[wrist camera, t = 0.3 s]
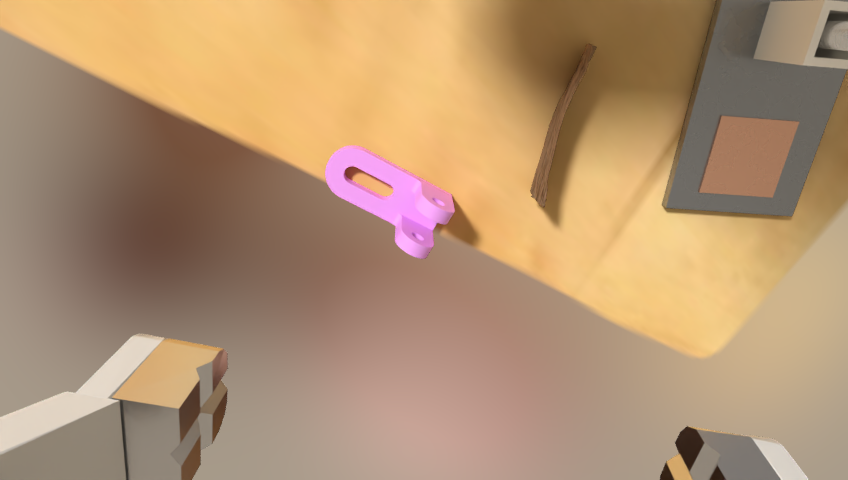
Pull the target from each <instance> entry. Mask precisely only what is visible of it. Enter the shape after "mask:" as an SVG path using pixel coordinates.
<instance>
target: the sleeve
mask: <svg viewBox="0 0 848 480" xmlns="http://www.w3.org/2000/svg"><path fill="white" fill-rule="evenodd" d="M826 21H848V2H844V1H833V0H805V1H774V2H770V5H769V8H768V12H767V15H766V18H765V21H764V25H763V28H762V31H761V34H760V38H759V41H758V44H757V48H756V51H755V54H754V57H753V59H759V60H766V61H774V62H781V63H789V64H796V65H804V66H817V67H829V68H842V69H848V51H843V50H832V49H820V48H817V47H818V44H819V41H820V38H821V35H822V32H823V29H824V27H825V24H826Z"/></svg>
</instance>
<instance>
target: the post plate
mask: <svg viewBox="0 0 848 480" xmlns="http://www.w3.org/2000/svg"><path fill="white" fill-rule="evenodd" d="M774 1H805V0H717V1H716V5H715V8H714V12H713V16H712V20H711V23H710V27H709V31H708V34H707V38H706V42H705V46H704V49H703V53H702V57H701V61H700V64H699V68H698V72H697V76H696V79H695V83H694V87H693V90H692V94H691V98H690V102H689V105H688V109H687V113H686V117H685V120H684V124H683V128H682V131H681V135H680V139H679V143H678V146H677V150H676V154H675V158H674V161H673V165H672V169H671V173H670V176H669V180H668V184H667V187H666V191H665V195H664V199H663V202H662V205H663V206H664V207H665V208H675V209H690V210H705V211H720V212H735V213H750V214H765V215H780V216H792V215H793V213H794V210H795V207H796V205H797V202H798V199H799V197H800V194H801V191H802V189H803V186H804V183H805V181H806V178H807V175H808V173H809V170H810V167H811V165H812V162H813V159H814V156H815V154H816V151H817V148H818V146H819V143H820V140H821V138H822V135H823V132H824V130H825V127H826V124H827V122H828V119H829V116H830V114H831V111H832V108H833V106H834V103H835V100H836V98H837V95H838V92H839V90H840V87H841V84H842V82H843V79H844V76H845V74H846V71H847V69H842V68H829V67H817V66H804V65H796V64H789V63H781V62H774V61H766V60H759V59H753V57H754V54H755V51H756V48H757V44H758V41H759V38H760V34H761V31H762V28H763V25H764V21H765V18H766V15H767V12H768V8H769V5H770V2H774ZM833 1H844V2H848V0H833ZM817 48H820V49H832V50H843V51H848V21H826V24H825V27H824V29H823V32H822V35H821V38H820V41H819V44H818V47H817Z"/></svg>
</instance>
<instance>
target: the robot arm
mask: <svg viewBox="0 0 848 480" xmlns="http://www.w3.org/2000/svg"><path fill="white" fill-rule="evenodd" d="M227 369H228V353H227V352H226V351H225V350H224V349H222V348H217V347H212V346H207V345H201V344H195V343H191V342H185V341H180V340H175V339H166V338H163V337H157V336H151V335H146V334H137V335H134V336H132V337H131V338H130V339H129V340H128V341H127V342H126V343H125V344H124V345H123V346H122V347H121V348H120V349H119V350H118V351H117V352H116V353H115V354H114V355H113V356H112V357H111V358H110V359H109V360H108V361H107V362H106V363H105V364H104V365H103V366H102V367H101V368H100V369H99V370H98V371H97V372H96V373H95V374H94V375H93V376H92V377H91V378H90V379H89V380H88V381H87V382H86V383H85V384H84V385H83V386H82V387H81V388H80V389H79V390H78V391H77V392H76V393H71V392H63V393H61V394H58V395H56V396H53V397H51V398H48V399H46V400H43V401H40V402H38V403H35V404H33V405H30V406H28V407H25V408H23V409H20V410H18V411H15V412H12V413H10V414H7V415H5V416H2V417H0V480H192V479H193V477H194V475H195V473H196V472H197V470H198V468H199V466H200V465H201V456H200V455H201V450H202V449H204V448H206V447H208V446H209V445H211V444H212V443H213V441H214V440H215V438H216V436H217V434H218V432H219V430H220V427H221V424H222V421H223V418H224V415H225V410H226V405H227V392H228V390H227V388H226V387H225V385H224V384H223V382H222V381H221V379H222V377H223V376H224V374H225V372H226V371H227ZM675 444H676V447H677V449H678V452H679V454H678V455H676V456H675V457H673V458H671V459H670V460H668V461H666V463H665V466H664V468H663V471H662V473H661V475H660V480H809V479H808V478H807V477H806V475H805V474H804V473H803V471H802V470H801V469H800V468H799V466H798V465H797V464H796V462H795V461H794V460H793V458H792V457H791V456H790V454H789V453H788V452H787V451H786V449H785V448H784V447H783V445H782V444H780V443H779V442H777V441H776V440H774V439H772V438H766V437H758V436H751V435H738V434H733V433H726V432H720V431H714V430H707V429H701V428H695V427H689V426H687V427H685V428H684V429H683V430H682V431H681V432H680V434H679V436H678V438H677V440H676V442H675Z"/></svg>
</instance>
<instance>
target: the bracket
mask: <svg viewBox="0 0 848 480" xmlns="http://www.w3.org/2000/svg"><path fill="white" fill-rule="evenodd" d="M351 166H354V167H357V168H359V169H361V170H363V171H364V172H366V173H368V174H370V175H372V176H374V177H376V178H378V179H380V180H382V181H384V182H386V183H387V184H389V185H391V186H392V188H393V190H394V192H393V193H392V194H391V195H390V196H386V197H385V196H381V195H379V194H377V193H376V192H374V191H372V190H370V189H368V188H366V187H364V186H362V185H360V184H358V183H356V182H354V181H352V180H350V179H349V178H348V177H347V176H346V174H345V169H346V168H348V167H351ZM325 176H326V181H327V184H328V186H329V188H330V189H331V190H332V191H333V192H334V193H335V194H336V195H337V196H339V197H340V198H342V199H344V200H346V201H348V202H350V203H352V204H354V205H356V206H358V207H360V208H362V209H364V210H366V211H368V212H370V213H372V214H374V215H376V216H378V217H380V218H382V219H384V220H386V221H388V222H390V223H392V224H393V225H395V227H396V232H395V242H396V244H397V245H398V246H399V247H400V248H401V249H402V250H403V251H405V252H406V253H408V254H410V255H412V256H414V257H417V258H421V259H424V258H426V257H427V256H428V254H429V253H430V251H431V249H432V248H433V246H434V240H433V229H434V227H435V226H436V224H437V223H440V224H447V223H448V222H449V220H450V218H451V217H452V215H453V214H454V212H455V209H454V204H453V199H452V194H450V193H448V192H446V191H444V190H442V189H440V188H439V187H437V186H435V185H433V184H431V183H429V182H427V181H425V180H424V179H422V178H420V177H418V176H416V175H414V174H412V173H410V172H408V171H407V170H405V169H403V168H401V167H399V166H397V165H395V164H393V163H392V162H390V161H388V160H386V159H384V158H382V157H380V156H378V155H377V154H375V153H373V152H371V151H369V150H367V149H365V148H363V147H360V146H345V147H342V148H340V149H339V150H337V151H336V152H335V153H334V154H333V155H332V156H331V158H330V159H329V161H328V163H327V166H326V171H325Z"/></svg>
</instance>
